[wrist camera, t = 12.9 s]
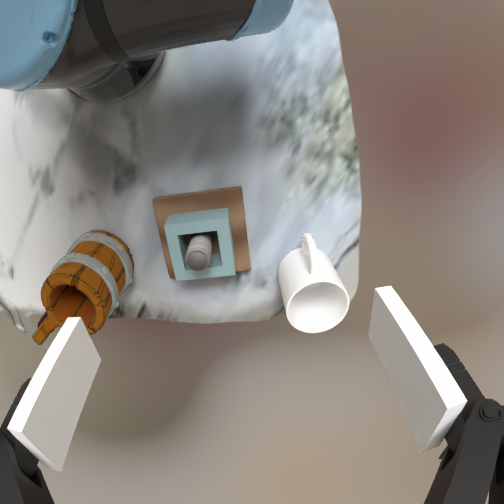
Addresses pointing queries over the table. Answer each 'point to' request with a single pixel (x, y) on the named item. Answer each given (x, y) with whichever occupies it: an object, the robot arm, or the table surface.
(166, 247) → the post block
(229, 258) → the ring
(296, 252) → the cup
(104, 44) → the robot arm
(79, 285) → the mug
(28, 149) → the table surface
